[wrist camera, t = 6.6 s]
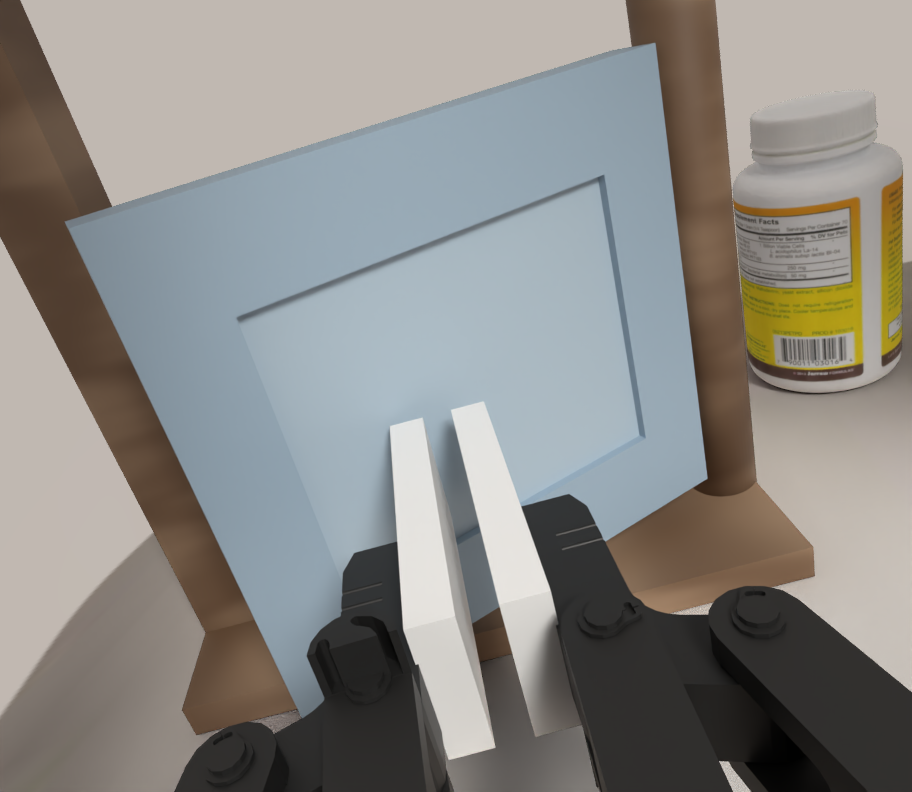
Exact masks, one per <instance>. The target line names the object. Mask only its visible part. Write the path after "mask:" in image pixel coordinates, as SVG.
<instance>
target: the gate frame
mask: <svg viewBox="0 0 912 792" xmlns="http://www.w3.org/2000/svg"><path fill="white" fill-rule="evenodd" d="M626 6H627V13H628V21H629V28H630V35H631V44H632V47H634V46H639V45H645V44H651V43H655V44H656V52H657V60H658V69H659V77H660V85H661V94H662V102H663V110H664V119H665V127H666V135H667V144H668V152H669V161H670V169H671V177H672V186H673V194H674V202H675V211H676V219H677V227H678V236H679V244H680V252H681V261H682V269H683V277H684V286H685V294H686V303H687V311H688V319H689V328H690V336H691V344H692V353H693V361H694V369H695V378H696V386H697V394H698V403H699V411H700V420H701V428H702V436H703V445H704V453H705V461H706V470H707V478H708V479H706V480H704V481H703V482H701V483H699V484H698V485H696V486H695V487H693V488H691V489H690V490H688V491H687V492H685V493H683V494H682V495H680V496H678V497H677V498H675V499H674V500H672V501H670V502H669V503H667V504H665V505H664V506H662V507H661V508H659V509H657V510H656V511H654V512H652V513H651V514H649V515H648V516H646V517H644V518H643V519H641V520H639V521H638V522H636V523H635V524H633V525H631V526H630V527H628V528H627V529H625V530H623V531H622V532H620V533H618V534H617V535H615V536H614V537H612V538H610V539H609V540H607V541H605V542H606V544H607V546H608V548H609V550H610V552H611V554H612V556H613V558H614V560H615V562H616V564H617V566H618V568H619V570H620V572H621V574H622V576H623V578H624V580H625V582H626V584H627V586H628V588H629V590H630V591H631V593H632V594H633V596H635V597H636V598H638V599H640V600H641V601H642V602H643V603H644V605H645V606H647V607H649V608H651V609H654V610H656V611H660V612H664V613H672V612H676V611H680V610H684V609H688V608H692V607H696V606H700V605H704V604H707V603H711V602H714V601H715V599H717V598H718V597H719V596H721V595H722V594H724V593H725V592H727V591H728V590H732V589H736V588H739V587H743V586H767V587H774V586H777V585H781V584H785V583H789V582H793V581H797V580H801V579H805V578H809V577H812V576H815V572H814V552H813V546H812V545H811V544H810V543H809V542H808V540H807V539H806V538H805V537H804V536H803V535H802V534H801V532H800V531H799V530H798V529H797V528H796V527H795V526H794V525H793V523H792V522H791V521H790V520H789V519H788V518H787V517H786V515H785V514H784V513H783V512H782V511H781V510H780V509H779V507H778V506H777V505H776V504H775V503H774V502H773V501H772V499H771V498H770V497H769V496H768V495H767V494H766V493H765V491H764V490H763V489H762V488H761V487H760V486H759V485H758V483H757V479H756V468H755V456H754V445H753V433H752V421H751V410H750V398H749V387H748V375H747V363H746V352H745V340H744V329H743V317H742V305H741V294H740V282H739V272H738V271H739V270H738V259H737V247H736V236H735V224H734V214H733V213H734V212H733V201H732V189H731V178H730V167H729V154H728V143H727V131H726V120H725V108H724V97H723V85H722V74H721V61H720V50H719V38H718V27H717V15H716V4H715V0H626ZM110 207H112V205H111V203H110V201H109V199H108V197H107V194H106V192H105V190H104V187H103V185H102V183H101V181H100V178H99V176H98V175H97V172H96V169H95V167H94V165H93V163H92V160H91V158H90V156H89V154H88V152H87V150H86V147H85V145H84V143H83V141H82V138H81V136H80V134H79V131H78V129H77V127H76V125H75V122H74V120H73V118H72V116H71V113H70V111H69V109H68V107H67V104H66V102H65V100H64V98H63V95H62V93H61V91H60V89H59V86H58V84H57V82H56V80H55V77H54V75H53V73H52V71H51V68H50V66H49V64H48V62H47V60H46V57H45V55H44V53H43V51H42V48H41V46H40V44H39V42H38V39H37V37H36V35H35V33H34V30H33V28H32V26H31V24H30V21H29V19H28V17H27V15H26V13H25V10H24V8H23V6H22V4H21V1H20V0H0V237H1V239H2V241H3V243H4V245H5V247H6V249H7V251H8V253H9V255H10V257H11V259H12V260H13V262H14V264H15V266H16V268H17V270H18V272H19V274H20V276H21V278H22V280H23V282H24V284H25V285H26V287H27V289H28V291H29V293H30V295H31V297H32V299H33V301H34V303H35V305H36V307H37V309H38V310H39V312H40V314H41V316H42V318H43V320H44V322H45V324H46V326H47V328H48V330H49V332H50V334H51V336H52V337H53V339H54V341H55V343H56V345H57V347H58V349H59V351H60V353H61V355H62V357H63V359H64V361H65V363H66V364H67V366H68V368H69V370H70V372H71V374H72V376H73V378H74V380H75V382H76V384H77V386H78V387H79V389H80V391H81V393H82V395H83V397H84V399H85V401H86V403H87V405H88V407H89V409H90V411H91V412H92V414H93V416H94V418H95V420H96V422H97V424H98V426H99V428H100V430H101V432H102V434H103V436H104V438H105V440H106V441H107V443H108V445H109V447H110V449H111V451H112V453H113V455H114V457H115V459H116V461H117V463H118V465H119V466H120V468H121V470H122V472H123V474H124V476H125V478H126V480H127V482H128V484H129V486H130V488H131V490H132V491H133V493H134V495H135V497H136V499H137V501H138V503H139V505H140V507H141V509H142V511H143V513H144V515H145V516H146V518H147V520H148V522H149V524H150V526H151V528H152V530H153V532H154V534H155V536H156V538H157V540H158V542H159V543H160V545H161V547H162V549H163V551H164V553H165V555H166V557H167V559H168V561H169V563H170V565H171V567H172V568H173V570H174V572H175V574H176V576H177V578H178V580H179V582H180V584H181V586H182V588H183V590H184V592H185V594H186V595H187V597H188V599H189V601H190V603H191V605H192V607H193V609H194V611H195V613H196V615H197V617H198V619H199V620H200V622H201V624H202V626H203V628H204V630H205V632H206V633H205V637H204V640H203V643H202V646H201V650H200V653H199V656H198V659H197V663H196V666H195V669H194V672H193V676H192V679H191V682H190V685H189V689H188V692H187V695H186V699H185V702H184V705H183V708H182V711H183V712H184V714H185V716H186V718H187V719H188V721H189V723H190V725H191V726H192V728H193V730H194V732H195V733H196V735H198V734H202V733H205V732H209V731H213V730H217V729H221V728H225V727H229V726H232V725H236V724H240V723H243V722H248V721H252V720H256V719H260V718H264V717H268V716H272V715H275V714H279V713H283V712H287V711H291V710H295V709H297V707H296V705H295V703H294V701H293V699H292V697H291V695H290V693H289V691H288V689H287V687H286V685H285V683H284V680H283V678H282V676H281V674H280V672H279V670H278V668H277V666H276V664H275V662H274V659H273V657H272V655H271V653H270V651H269V649H268V647H267V645H266V643H265V641H264V639H263V636H262V634H261V632H260V630H259V628H258V626H257V624H256V622H255V620H254V618H253V616H252V613H251V611H250V609H249V607H248V605H247V603H246V601H245V599H244V597H243V595H242V592H241V590H240V588H239V586H238V584H237V582H236V580H235V578H234V576H233V574H232V572H231V569H230V567H229V565H228V563H227V561H226V559H225V557H224V555H223V553H222V551H221V548H220V546H219V544H218V542H217V540H216V538H215V536H214V534H213V532H212V530H211V528H210V525H209V523H208V521H207V519H206V517H205V515H204V513H203V511H202V509H201V507H200V504H199V502H198V500H197V498H196V496H195V494H194V492H193V490H192V488H191V486H190V484H189V481H188V479H187V477H186V475H185V473H184V471H183V469H182V467H181V465H180V463H179V460H178V458H177V456H176V454H175V452H174V450H173V448H172V446H171V444H170V442H169V440H168V437H167V435H166V433H165V431H164V429H163V427H162V425H161V423H160V421H159V419H158V416H157V414H156V412H155V410H154V408H153V406H152V404H151V402H150V400H149V398H148V396H147V393H146V391H145V389H144V387H143V385H142V383H141V381H140V379H139V377H138V375H137V372H136V370H135V368H134V366H133V364H132V362H131V360H130V358H129V356H128V354H127V352H126V349H125V347H124V345H123V343H122V341H121V339H120V337H119V335H118V333H117V331H116V329H115V326H114V324H113V322H112V320H111V318H110V316H109V314H108V312H107V310H106V308H105V305H104V303H103V301H102V299H101V297H100V295H99V293H98V291H97V289H96V287H95V285H94V282H93V280H92V278H91V276H90V274H89V272H88V270H87V268H86V266H85V264H84V261H83V259H82V257H81V255H80V253H79V251H78V249H77V247H76V245H75V243H74V241H73V238H72V236H71V234H70V232H69V230H68V228H67V226H66V224H65V221H68V220H72V219H75V218H78V217H81V216H84V215H88V214H91V213H94V212H97V211H100V210H104V209H107V208H110ZM472 627H473V632H474V637H475V642H476V648H477V653H478V658H479V662H482V661H486V660H489V659H493V658H497V657H501V656H505V655H509V654H512V650H511V647H510V643H509V639H508V636H507V632H506V628H505V625H504V621H503V617H502V614H501V610H500V607H498V608H497V609H495V610H494V611H492V612H490V613H489V614H487V615H485V616H484V617H482V618H481V619H479V620H477V621H476V622H474V623H472Z"/></svg>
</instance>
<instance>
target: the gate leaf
mask: <svg viewBox="0 0 912 792" xmlns="http://www.w3.org/2000/svg"><path fill="white" fill-rule="evenodd" d="M65 224H66V226H67V228H68V230H69V232H70V234H71V236H72V238H73V241H74V243H75V245H76V247H77V249H78V251H79V253H80V255H81V257H82V259H83V261H84V264H85V266H86V268H87V270H88V272H89V274H90V276H91V278H92V280H93V282H94V285H95V287H96V289H97V291H98V293H99V295H100V297H101V299H102V301H103V303H104V305H105V308H106V310H107V312H108V314H109V316H110V318H111V320H112V322H113V324H114V326H115V329H116V331H117V333H118V335H119V337H120V339H121V341H122V343H123V345H124V347H125V349H126V352H127V354H128V356H129V358H130V360H131V362H132V364H133V366H134V368H135V370H136V372H137V375H138V377H139V379H140V381H141V383H142V385H143V387H144V389H145V391H146V393H147V396H148V398H149V400H150V402H151V404H152V406H153V408H154V410H155V412H156V414H157V416H158V419H159V421H160V423H161V425H162V427H163V429H164V431H165V433H166V435H167V437H168V440H169V442H170V444H171V446H172V448H173V450H174V452H175V454H176V456H177V458H178V460H179V463H180V465H181V467H182V469H183V471H184V473H185V475H186V477H187V479H188V481H189V484H190V486H191V488H192V490H193V492H194V494H195V496H196V498H197V500H198V502H199V504H200V507H201V509H202V511H203V513H204V515H205V517H206V519H207V521H208V523H209V525H210V528H211V530H212V532H213V534H214V536H215V538H216V540H217V542H218V544H219V546H220V548H221V551H222V553H223V555H224V557H225V559H226V561H227V563H228V565H229V567H230V569H231V572H232V574H233V576H234V578H235V580H236V582H237V584H238V586H239V588H240V590H241V592H242V595H243V597H244V599H245V601H246V603H247V605H248V607H249V609H250V611H251V613H252V616H253V618H254V620H255V622H256V624H257V626H258V628H259V630H260V632H261V634H262V636H263V639H264V641H265V643H266V645H267V647H268V649H269V651H270V653H271V655H272V657H273V659H274V662H275V664H276V666H277V668H278V670H279V672H280V674H281V676H282V678H283V680H284V683H285V685H286V687H287V689H288V691H289V693H290V695H291V697H292V699H293V701H294V703H295V705H296V707H297V709H298V711H299V713H300V715H301V717H302V718H303V717H305V716H306V715H308V714H309V713H311V712H312V711H314V710H315V709H316V708H317V707H318V706H319V705H320V704H321V703H322V702H323V701H324V696H323V693H322V691H321V689H320V686H319V684H318V682H317V679H316V677H315V675H314V672H313V670H312V668H311V666H310V663H309V661H308V659H307V652H308V649H309V646H310V642H311V641H312V640H313V639H314V637H315V636H316V635H317V633H318V632H319V631H320V630H321V629H322V628H323V627H325V626H326V625H327V624H329V623H330V622H331V621H333V620H334V619H336V618H338V617H340V616H341V612H342V609H341V601H342V596H343V594H342V579H343V571H344V570H345V568H346V566H347V565H348V563H349V561H350V559H351V558H352V556H353V554H354V553H356V552H359V551H363V550H367V549H371V548H374V547H378V546H382V545H386V544H389V543H393V542H397V528H396V513H395V498H394V483H393V468H392V453H391V438H390V426H392V425H396V424H400V423H403V422H407V421H411V420H415V419H419V418H422V417H423V420H424V424H425V427H426V430H427V434H428V437H429V441H430V444H431V448H432V451H433V455H434V458H435V462H436V465H437V468H438V472H439V475H440V479H441V482H442V486H443V489H444V493H445V496H446V500H447V503H448V506H449V510H450V513H451V517H452V522H453V527H454V532H455V538H456V543H457V548H458V553H459V559H460V564H461V569H462V574H463V579H464V585H465V590H466V595H467V600H468V606H469V611H470V616H471V621H472V623H474V622H476V621H477V620H479V619H481V618H482V617H484V616H485V615H487V614H489V613H490V612H492V611H494V610H495V609H497V608H498V607H500V606H499V602H498V598H497V594H496V590H495V586H494V582H493V578H492V574H491V570H490V566H489V562H488V558H487V554H486V550H485V546H484V542H483V538H482V534H481V530H480V526H479V522H478V518H477V514H476V510H475V506H474V502H473V498H472V494H471V489H470V485H469V481H468V477H467V473H466V469H465V465H464V461H463V457H462V453H461V449H460V445H459V441H458V437H457V433H456V429H455V425H454V421H453V417H452V413H451V410H452V409H456V408H460V407H464V406H467V405H471V404H475V403H479V402H482V401H484V403H485V406H486V409H487V412H488V414H489V417H490V420H491V423H492V426H493V429H494V431H495V434H496V437H497V440H498V443H499V446H500V448H501V451H502V454H503V457H504V460H505V463H506V465H507V468H508V471H509V474H510V477H511V480H512V482H513V485H514V488H515V491H516V494H517V497H518V499H519V502H520V505H521V506H525V505H529V504H532V503H536V502H540V501H544V500H547V499H551V498H555V497H559V496H562V495H566V494H570V495H572V496H573V497H575V498H576V499H578V500H579V501H581V502H582V503H584V504H585V505H587V507H588V509H589V511H590V513H591V515H592V517H593V519H594V521H595V523H596V526H597V527H598V528H599V530H600V532H601V534H602V537H603V540H605V541H607V540H609V539H610V538H612V537H614V536H615V535H617V534H618V533H620V532H622V531H623V530H625V529H627V528H628V527H630V526H631V525H633V524H635V523H636V522H638V521H639V520H641V519H643V518H644V517H646V516H648V515H649V514H651V513H652V512H654V511H656V510H657V509H659V508H661V507H662V506H664V505H665V504H667V503H669V502H670V501H672V500H674V499H675V498H677V497H678V496H680V495H682V494H683V493H685V492H687V491H688V490H690V489H691V488H693V487H695V486H696V485H698V484H699V483H701V482H703V481H704V480H706V479H708V478H707V470H706V461H705V453H704V445H703V436H702V428H701V420H700V411H699V403H698V394H697V386H696V378H695V369H694V361H693V353H692V344H691V336H690V328H689V319H688V311H687V303H686V294H685V286H684V277H683V269H682V261H681V252H680V244H679V236H678V227H677V219H676V211H675V202H674V194H673V186H672V177H671V169H670V161H669V152H668V144H667V135H666V127H665V119H664V110H663V102H662V94H661V85H660V77H659V69H658V60H657V52H656V44H655V43H651V44H645V45H639V46H634V47H629V48H623V49H617V50H612V51H609V52H606V53H602V54H599V55H596V56H593V57H590V58H586V59H583V60H580V61H577V62H573V63H570V64H567V65H564V66H561V67H558V68H554V69H551V70H548V71H545V72H541V73H538V74H535V75H532V76H529V77H525V78H523V79H519V80H516V81H513V82H509V83H506V84H503V85H500V86H497V87H494V88H490V89H487V90H484V91H481V92H478V93H474V94H471V95H468V96H465V97H461V98H458V99H455V100H452V101H449V102H446V103H442V104H439V105H436V106H433V107H430V108H427V109H423V110H420V111H417V112H414V113H410V114H407V115H404V116H401V117H398V118H394V119H392V120H388V121H385V122H382V123H378V124H375V125H372V126H369V127H366V128H363V129H359V130H356V131H353V132H350V133H347V134H343V135H340V136H337V137H334V138H331V139H327V140H324V141H321V142H318V143H315V144H311V145H308V146H305V147H302V148H298V149H296V150H292V151H289V152H286V153H283V154H280V155H276V156H273V157H270V158H267V159H264V160H260V161H257V162H254V163H251V164H248V165H244V166H241V167H238V168H235V169H231V170H228V171H225V172H222V173H219V174H216V175H212V176H209V177H206V178H203V179H199V180H196V181H193V182H190V183H187V184H183V185H180V186H177V187H174V188H171V189H167V190H164V191H161V192H158V193H155V194H152V195H148V196H145V197H142V198H139V199H135V200H132V201H129V202H126V203H123V204H119V205H116V206H113V207H110V208H107V209H104V210H100V211H97V212H94V213H91V214H88V215H84V216H81V217H78V218H75V219H72V220H68V221H65Z"/></svg>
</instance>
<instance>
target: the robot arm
mask: <svg viewBox="0 0 912 792" xmlns="http://www.w3.org/2000/svg"><path fill="white" fill-rule="evenodd" d="M451 413H452V417H453V421H454V425H455V429H456V433H457V437H458V441H459V445H460V449H461V453H462V457H463V461H464V465H465V469H466V473H467V477H468V481H469V485H470V489H471V494H472V498H473V502H474V506H475V510H476V514H477V518H478V522H479V526H480V530H481V534H482V538H483V542H484V546H485V550H486V554H487V558H488V562H489V566H490V570H491V574H492V578H493V582H494V586H495V590H496V594H497V598H498V602H499V606H500V610H501V614H502V617H503V621H504V625H505V628H506V632H507V636H508V639H509V643H510V647H511V650H512V654H513V658H514V661H515V665H516V669H517V672H518V676H519V680H520V683H521V687H522V691H523V694H524V698H525V702H526V705H527V709H528V713H529V716H530V720H531V724H532V727H533V731H534V734H535V737H537V736H541V735H545V734H549V733H552V732H556V731H560V730H564V729H567V728H571V727H575V726H579V725H582V727H583V730H584V734H585V738H586V742H587V747H588V751H589V755H590V760H591V764H592V768H593V773H594V777H595V781H596V785H597V788H598V787H599V791H600V792H733V791H732V789H731V786H730V784H729V782H728V780H727V778H726V776H725V773H724V771H723V769H722V767H721V765H720V763H719V761H729V763H730V765H731V766H732V768H733V769H734V771H735V772H736V773H737V774H738V776H739V777H740V778H741V779H742V781H743V782H744V783H745V784H746V785H747V787H748V788H749V789H750V790H751V792H912V692H911V691H909V690H908V689H907V688H906V687H905V686H903V685H902V684H901V683H900V682H899V681H897V680H896V679H895V678H894V677H892V676H891V675H890V674H889V673H888V672H886V671H885V670H884V669H883V668H881V667H880V666H879V665H878V664H877V663H875V662H874V661H873V660H872V659H870V658H869V657H868V656H867V655H866V654H864V653H863V652H862V651H861V650H859V649H858V648H857V647H856V646H855V645H853V644H852V643H851V642H850V641H848V640H847V639H846V638H845V637H844V636H842V635H841V634H840V633H839V632H838V631H836V630H835V629H834V628H833V627H831V626H830V625H829V624H828V623H827V622H825V621H824V620H823V619H822V618H820V617H819V616H818V615H817V614H816V613H814V612H813V611H812V610H811V609H809V608H808V607H807V606H806V605H805V604H803V603H802V602H801V601H800V600H798V599H797V598H795V597H793V596H791V595H790V594H788V593H786V592H785V591H783V590H779V589H775V588H771V587H767V586H743V587H739V588H736V589H732V590H728V591H727V592H725V593H724V594H722V595H721V596H719V597H718V598H717V599H715V601H714V602H713V604H712V606H711V608H710V609H709V615H677V614H668V613H664V612H660V611H656V610H654V609H651V608H649V607H647V606H645V605H644V603H643V602H642V601H641V600H640V599H638V598H636V597H635V596H633V594H632V593H631V591H630V590H629V588H628V586H627V584H626V582H625V580H624V578H623V576H622V574H621V572H620V570H619V568H618V566H617V564H616V562H615V560H614V558H613V556H612V554H611V552H610V550H609V548H608V546H607V544H606V542H605V540H603V537H602V534H601V532H600V530H599V528H598V527H597V526H596V523H595V521H594V519H593V517H592V515H591V513H590V511H589V509H588V507H587V505H585V504H584V503H582V502H581V501H579V500H578V499H576V498H575V497H573V496H572V495H570V494H566V495H562V496H559V497H555V498H551V499H547V500H544V501H540V502H536V503H532V504H529V505H525V506H521V505H520V502H519V499H518V497H517V494H516V491H515V488H514V485H513V482H512V480H511V477H510V474H509V471H508V468H507V465H506V463H505V460H504V457H503V454H502V451H501V448H500V446H499V443H498V440H497V437H496V434H495V431H494V429H493V426H492V423H491V420H490V417H489V414H488V412H487V409H486V406H485V403H484V401H482V402H479V403H475V404H471V405H467V406H464V407H460V408H456V409H452V410H451ZM390 438H391V453H392V468H393V483H394V498H395V513H396V528H397V542H393V543H389V544H386V545H382V546H378V547H374V548H371V549H367V550H363V551H359V552H356V553H354V554H353V556H352V558H351V559H350V561H349V563H348V565H347V566H346V568H345V570H344V571H343V579H342V594H343V596H342V601H341V609H342V612H341V616H340V617H338V618H336V619H334V620H333V621H331V622H330V623H329V624H327V625H326V626H325V627H323V628H322V629H321V630H320V631H319V632H318V633H317V635H316V636H315V637H314V639H313V640H312V641H311V642H310V646H309V649H308V652H307V659H308V661H309V663H310V666H311V668H312V670H313V672H314V675H315V677H316V679H317V682H318V684H319V686H320V689H321V691H322V693H323V696H324V701H323V702H322V703H321V704H320V705H319V706H318V707H317V708H316V709H315V710H314V711H312V712H311V713H309V714H308V715H306V716H305V717H303V718H302V719H300V720H299V721H297V722H295V723H293V724H291V725H290V726H288V727H286V728H284V729H282V730H281V731H279V732H277V733H275V734H273V732H272V730H271V729H269V728H268V727H266V726H265V725H263V724H262V723H254V722H243V723H240V724H236V725H232V726H229V727H227V728H225V729H223V730H221V731H220V732H218V733H216V734H214V735H213V736H211V737H210V738H209V739H208V740H207V741H206V742H205V743H204V744H202V745H201V746H200V747H199V748H198V749H197V750H196V752H195V753H194V755H193V756H192V758H191V759H190V761H189V762H188V764H187V765H186V767H185V770H184V772H183V774H182V776H181V778H180V780H179V783H178V785H177V787H176V789H175V791H174V792H454V789H453V787H452V784H451V781H450V778H449V775H448V772H447V770H446V764H445V755H444V748H445V751H446V753H447V756H448V759H449V760H451V759H455V758H459V757H463V756H466V755H470V754H474V753H478V752H481V751H485V750H489V749H493V748H496V747H495V742H494V737H493V731H492V726H491V721H490V716H489V710H488V705H487V700H486V695H485V689H484V684H483V679H482V674H481V669H480V663H479V658H478V653H477V648H476V642H475V637H474V632H473V627H472V621H471V616H470V611H469V606H468V600H467V595H466V590H465V585H464V579H463V574H462V569H461V564H460V559H459V553H458V548H457V543H456V538H455V532H454V527H453V522H452V517H451V513H450V510H449V506H448V503H447V500H446V496H445V493H444V489H443V486H442V482H441V479H440V475H439V472H438V468H437V465H436V462H435V458H434V455H433V451H432V448H431V444H430V441H429V437H428V434H427V430H426V427H425V424H424V420H423V417H422V418H419V419H415V420H411V421H407V422H403V423H400V424H396V425H392V426H390ZM443 745H444V746H443Z"/></svg>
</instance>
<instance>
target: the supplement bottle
mask: <svg viewBox="0 0 912 792" xmlns="http://www.w3.org/2000/svg"><path fill="white" fill-rule="evenodd" d="M877 127H878V123H877V121H876V99H875V94H874V93H873V92H870V91H865V90H846V91H835V92H828V93H821V94H815V95H810V96H805V97H800V98H795V99H791V100H787V101H784V102H780V103H777V104H774V105H771V106H768V107H765V108H763V109H761V110H758V111H757V112H755V113H754V114H753V115H752V116H751V118H750V131H751V143H750V148H751V149H752V150H753V151H752V158H753V160H754V161H756V162H755V163H753V164H751V165H749V166H748V167H747V168H745V169H744V170H743V171H742V172H741V173H740V174H739V175H738V176H737V177H736V180H735V181H734V184H733V203H734V212H735V222H736V232H737V243H738V254H739V265H740V275H741V286H742V298H743V308H744V319H745V329H746V340H747V352H748V358H749V362H750V365H751V367H752V369H753V371H754V372H755V373H756V374H757V375H758V376H759V377H760V378H761V379H763V380H764V381H766V382H768V383H770V384H771V385H774V386H777V387H780V388H783V389H787V390H792V391H799V392H810V393H826V392H838V391H844V390H850V389H854V388H858V387H861V386H865V385H867V384H870V383H872V382H875V381H877V380H879V379H880V378H882V377H884V376H885V375H887V374H888V373H889V372H890V371H891V370H892V369H893V368H894V367H895V366H896V365H897V363H898V361H899V359H900V357H901V352H902V276H903V275H902V219H903V218H902V210H903V165H902V159H901V157H900V155H899V154H898V153H897V151H896V150H894V149H893V148H891V147H889V146H886V145H884V144H879V143H873V142H874V141H875V139H876V138H877V133H876V128H877Z"/></svg>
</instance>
